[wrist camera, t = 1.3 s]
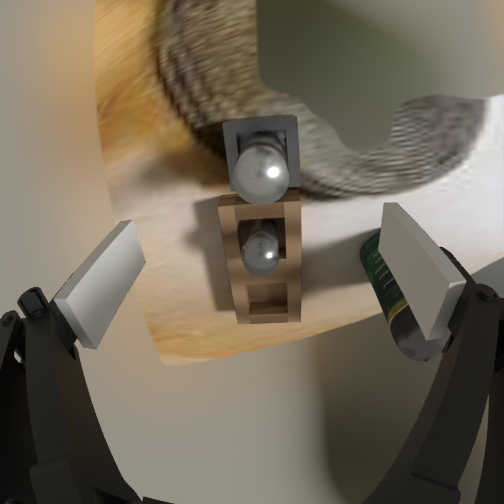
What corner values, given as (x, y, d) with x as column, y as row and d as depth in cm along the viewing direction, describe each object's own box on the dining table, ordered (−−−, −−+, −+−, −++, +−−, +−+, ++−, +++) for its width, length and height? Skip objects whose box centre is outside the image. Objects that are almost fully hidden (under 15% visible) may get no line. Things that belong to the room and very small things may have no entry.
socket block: (227, 119, 31) (222, 123, 28) (293, 114, 31) (297, 117, 27) (235, 179, 36) (231, 191, 32) (296, 175, 35) (300, 186, 31)
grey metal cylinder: (241, 132, 31) (227, 152, 20) (281, 129, 31) (289, 148, 20) (245, 168, 34) (234, 208, 23) (283, 166, 33) (292, 205, 22)
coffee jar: (349, 251, 40) (388, 347, 24) (390, 218, 37) (451, 302, 21) (380, 286, 43) (417, 375, 28) (416, 258, 40) (468, 341, 24)
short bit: (246, 216, 37) (241, 247, 30) (276, 215, 37) (278, 245, 30) (249, 242, 39) (245, 277, 32) (277, 241, 39) (279, 275, 32)
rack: (222, 195, 37) (217, 206, 33) (297, 190, 36) (300, 201, 32) (239, 307, 47) (237, 324, 44) (298, 304, 46) (300, 321, 43)
